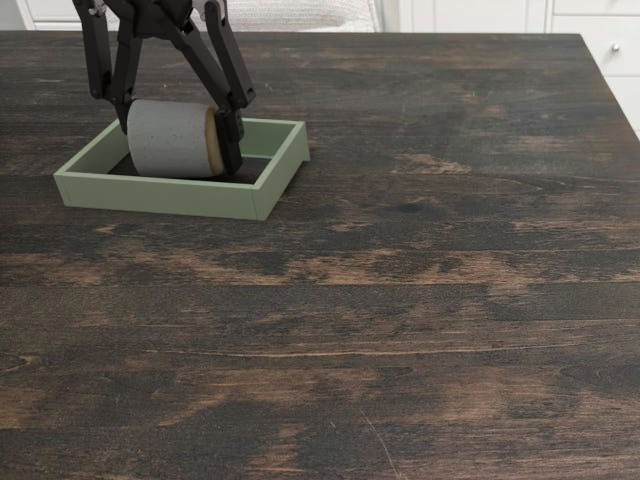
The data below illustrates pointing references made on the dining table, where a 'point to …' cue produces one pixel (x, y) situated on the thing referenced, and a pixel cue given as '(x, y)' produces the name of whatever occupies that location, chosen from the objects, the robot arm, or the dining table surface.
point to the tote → (186, 195)
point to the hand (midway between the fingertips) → (192, 166)
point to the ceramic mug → (174, 139)
